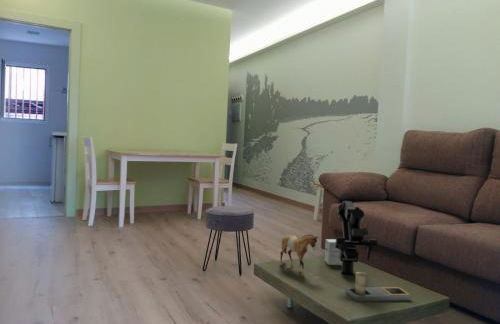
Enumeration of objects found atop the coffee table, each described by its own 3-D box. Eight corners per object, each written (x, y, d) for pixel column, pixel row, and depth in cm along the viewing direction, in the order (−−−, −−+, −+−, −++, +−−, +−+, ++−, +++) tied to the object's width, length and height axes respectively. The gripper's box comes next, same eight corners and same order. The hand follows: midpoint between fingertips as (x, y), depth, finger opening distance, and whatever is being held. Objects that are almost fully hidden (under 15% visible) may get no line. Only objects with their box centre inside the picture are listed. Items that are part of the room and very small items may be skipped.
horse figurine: (317, 278, 195) (319, 236, 194) (303, 279, 192) (305, 237, 191) (285, 260, 223) (287, 224, 222) (273, 261, 220) (274, 224, 219)
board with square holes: (355, 301, 167) (355, 296, 166) (345, 291, 177) (345, 286, 177) (411, 300, 170) (411, 295, 170) (397, 291, 181) (398, 286, 181)
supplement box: (324, 261, 226) (325, 238, 225) (337, 261, 226) (338, 239, 226) (327, 265, 218) (329, 242, 218) (341, 265, 219) (342, 242, 219)
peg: (354, 293, 175) (355, 271, 175) (364, 295, 174) (366, 272, 174) (354, 297, 171) (355, 274, 171) (365, 298, 170) (366, 275, 170)
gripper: (337, 219, 186) (339, 249, 175) (378, 222, 184) (382, 252, 174) (334, 233, 194) (336, 262, 183) (373, 235, 192) (377, 265, 182)
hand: (357, 260), depth 180 cm, fingers open, 9 cm apart
